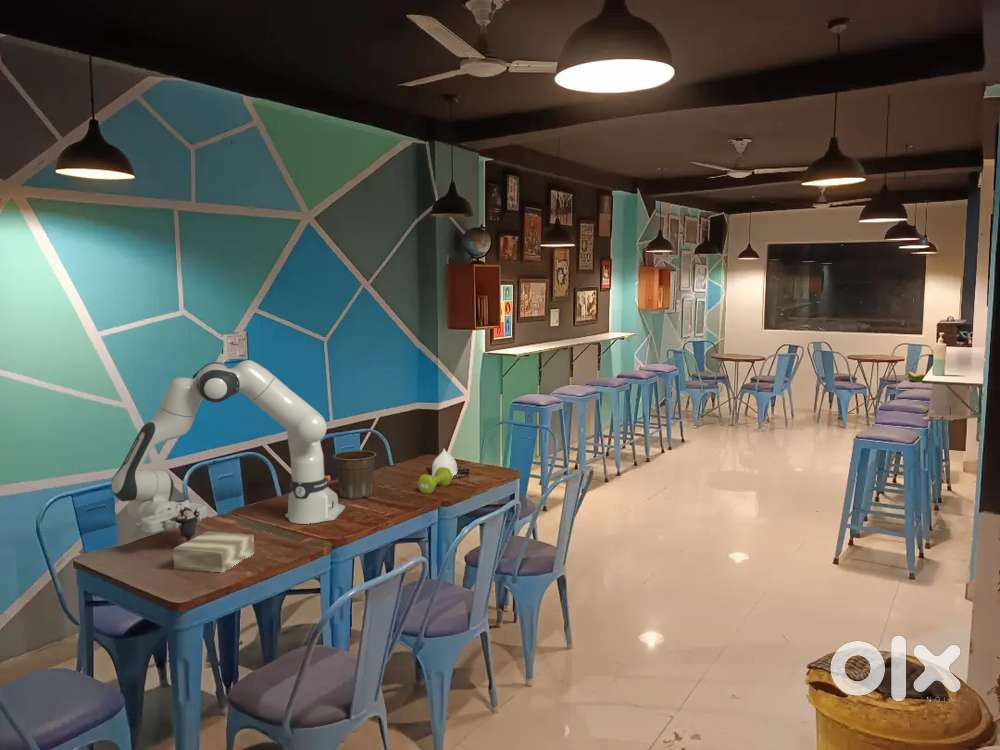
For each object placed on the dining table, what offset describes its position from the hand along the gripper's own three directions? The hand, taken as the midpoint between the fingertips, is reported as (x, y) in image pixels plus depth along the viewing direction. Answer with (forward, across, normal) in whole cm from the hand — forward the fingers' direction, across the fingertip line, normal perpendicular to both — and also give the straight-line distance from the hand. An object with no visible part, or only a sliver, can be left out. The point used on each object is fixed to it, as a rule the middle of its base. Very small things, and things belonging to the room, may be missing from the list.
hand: (189, 522), depth 232 cm
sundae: (-1, 0, +9) cm, 9 cm away
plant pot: (0, +71, +9) cm, 72 cm away
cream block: (+16, -2, +9) cm, 18 cm away
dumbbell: (+20, +95, +9) cm, 97 cm away
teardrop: (+10, +114, +9) cm, 114 cm away
